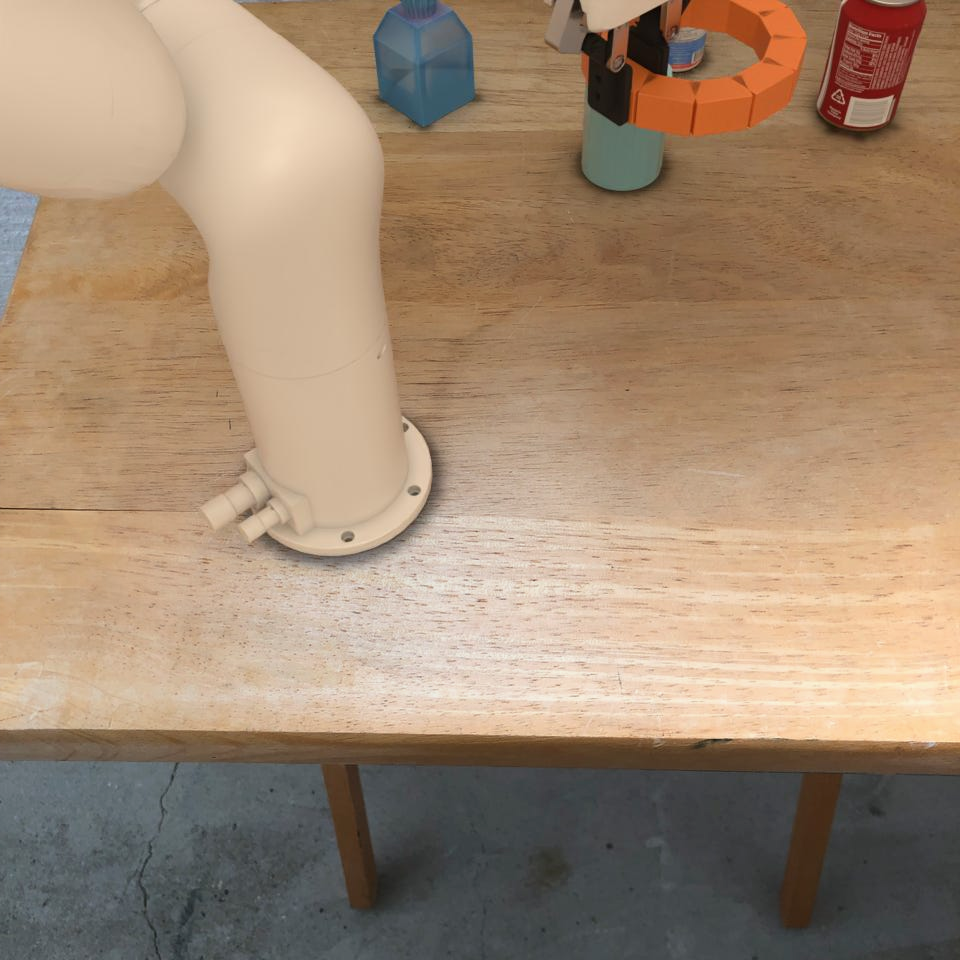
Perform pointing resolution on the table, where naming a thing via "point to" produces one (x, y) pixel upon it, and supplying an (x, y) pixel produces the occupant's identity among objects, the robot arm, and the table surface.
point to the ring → (728, 100)
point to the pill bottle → (687, 49)
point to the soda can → (869, 62)
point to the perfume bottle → (424, 60)
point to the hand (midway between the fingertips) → (625, 102)
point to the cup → (619, 151)
